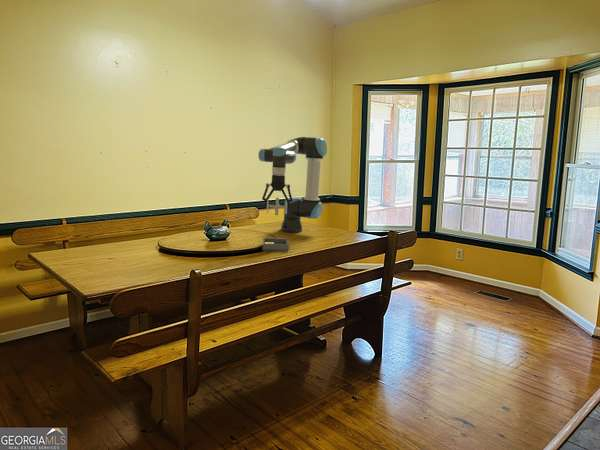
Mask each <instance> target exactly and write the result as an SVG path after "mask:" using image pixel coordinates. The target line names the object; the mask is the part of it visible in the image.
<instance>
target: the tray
mask: <svg viewBox="0 0 600 450" xmlns="http://www.w3.org/2000/svg"><path fill="white" fill-rule="evenodd" d="M265 242H274V243H275V244H265ZM262 243H263V247H262V251H263V252H284V253H286V252H285V251H289V250H290V249H289V248H290V244H289V239H288V238H281V237H280V238H279V237H276V238H275V237H271V238H270V237H262Z"/></svg>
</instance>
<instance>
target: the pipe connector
mask: <svg viewBox="0 0 600 450" xmlns="http://www.w3.org/2000/svg"><path fill="white" fill-rule="evenodd" d="M279 201H280V198H279V197H275V204H269V203H268V209H269V208H272V209H274V211H275V212H274V215H275V216H279V209H283V210H284V209H286V206H284V205H281V204H280V202H279Z"/></svg>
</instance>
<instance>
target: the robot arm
mask: <svg viewBox="0 0 600 450" xmlns="http://www.w3.org/2000/svg"><path fill="white" fill-rule="evenodd" d="M327 151H328V144H327V142H326V140H325V139H324V138H323V137H322V138H321V137H310V136H301V137H300V136H299V137H295V138H292V139H290V140H287V142H284V143H282V144H279V145H275V146H274V147H271V148H261V149H259V151H258V156H257V157H258V160H259V161H260V162H264V163H272V165H271V166H272V168H271V169H272V170H271V174H272V175H271V183H268V182H267V183H266V184H265V190H264V192H263V194H262V198H261V201H264V207H265V208H266V214H268V213H269V207H268V205H269V199H270V198H271V196H272V194H273V193H274V191H275V192H281V193H282V194H283V196H284V198H285V200H284V203H283V204H284V205H283V206H286V209H283V211H284V213H283V221H282V223H281V225H280V231H282V232H285V233H292V234H293V233H295V234H296V233H301V232H303V224H302V221H301V218H307V219H311V220H312V219H313V220H318V219H319V218H320V217H321V215H322V214H323V213H322V212H323V209H324V205H323V202H321V199H320V197H319V192H320V191H319V188H320V178H321V177H320V176H321V163H322V160H324V157H325V156H326V155H327ZM297 155H303V156H304V155H305V159H306V160H307V165H306V166H307V167H306V183H305V196H304V197H299V196H298V197H297V196H296V197H295V196H294V197H292V194H291V185H290V183H289V184H286V176H285V175H286V165H291V164H294V163H295V162H296V159H297ZM270 187H271V190H270V191H269V193H268V190H269V188H270ZM285 188H286V189H287V192H288V196H287V194H286V191H284V189H285ZM267 193H268V195H267Z"/></svg>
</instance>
